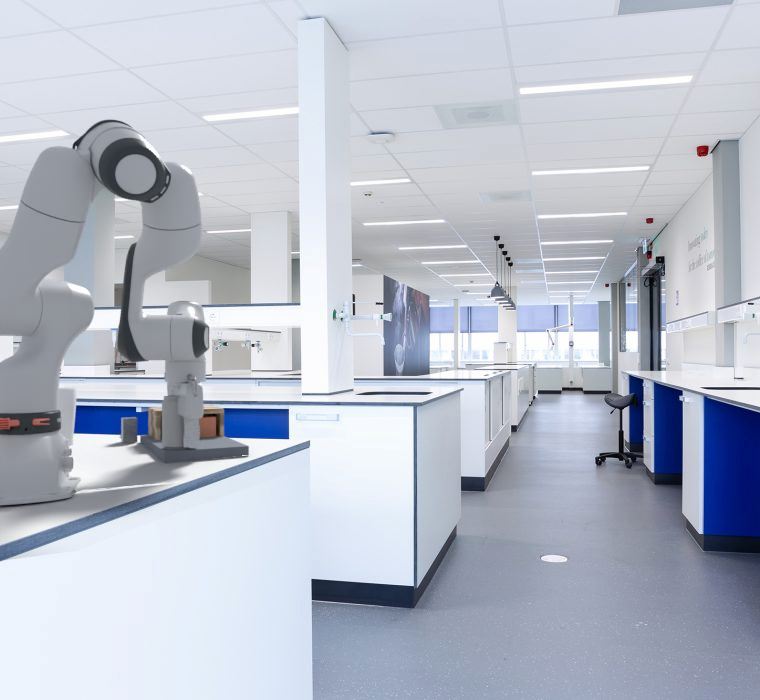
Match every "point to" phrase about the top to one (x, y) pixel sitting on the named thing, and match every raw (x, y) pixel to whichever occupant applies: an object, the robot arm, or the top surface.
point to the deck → (196, 449)
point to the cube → (207, 426)
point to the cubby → (212, 410)
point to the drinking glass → (67, 412)
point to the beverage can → (171, 424)
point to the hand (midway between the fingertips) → (185, 435)
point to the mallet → (129, 430)
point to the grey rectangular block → (194, 439)
